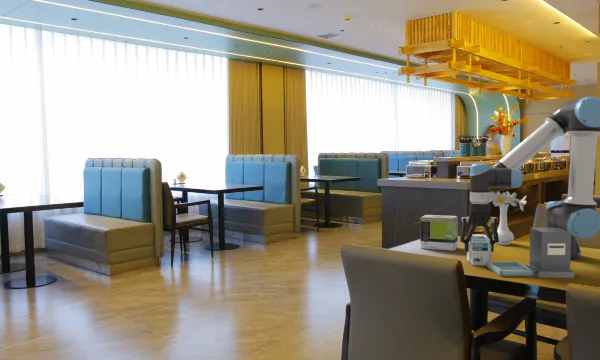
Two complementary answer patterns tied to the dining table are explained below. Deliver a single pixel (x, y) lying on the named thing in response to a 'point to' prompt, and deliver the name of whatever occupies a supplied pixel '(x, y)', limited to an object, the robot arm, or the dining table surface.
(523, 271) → the tray
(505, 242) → the flower vase
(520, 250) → the dining table surface
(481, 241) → the light bulb box
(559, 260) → the control unit
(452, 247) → the tea box
